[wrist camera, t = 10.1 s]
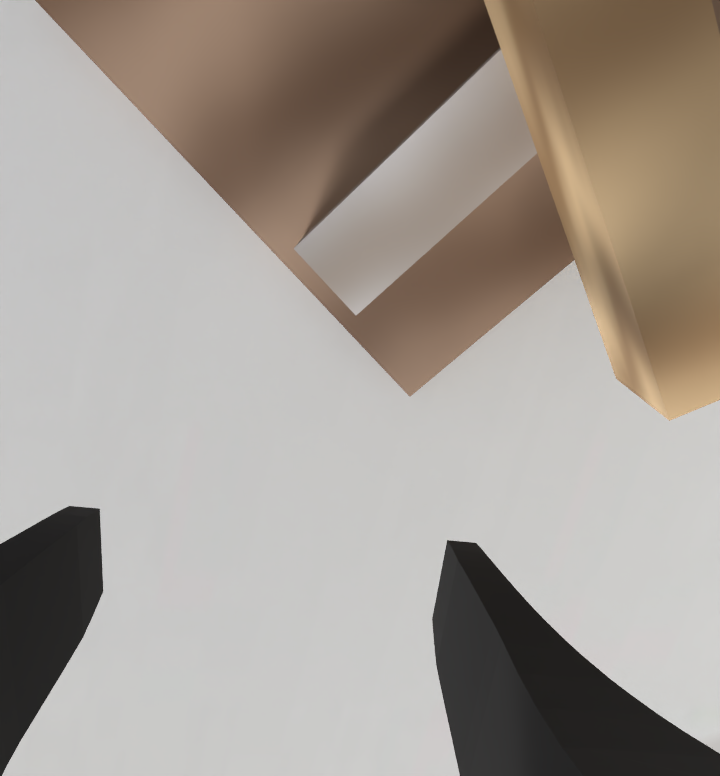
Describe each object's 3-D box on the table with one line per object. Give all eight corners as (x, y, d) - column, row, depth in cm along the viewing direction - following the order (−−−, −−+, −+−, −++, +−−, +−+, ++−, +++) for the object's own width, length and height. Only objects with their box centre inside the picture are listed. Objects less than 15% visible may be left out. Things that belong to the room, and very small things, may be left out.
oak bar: (721, 333, 16) (798, 367, 13) (616, 378, 17) (669, 420, 14) (517, -402, 11) (572, -593, 8) (374, -312, 12) (381, -465, 9)
